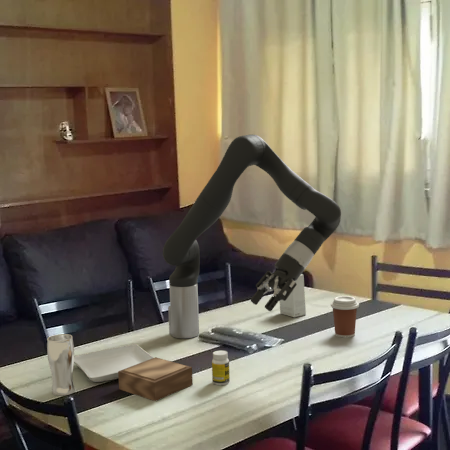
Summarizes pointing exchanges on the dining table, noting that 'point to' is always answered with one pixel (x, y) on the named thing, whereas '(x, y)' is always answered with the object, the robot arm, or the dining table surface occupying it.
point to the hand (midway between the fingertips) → (260, 306)
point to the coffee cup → (344, 315)
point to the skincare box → (295, 300)
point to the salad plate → (110, 361)
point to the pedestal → (155, 378)
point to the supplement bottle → (220, 368)
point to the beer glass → (61, 363)
